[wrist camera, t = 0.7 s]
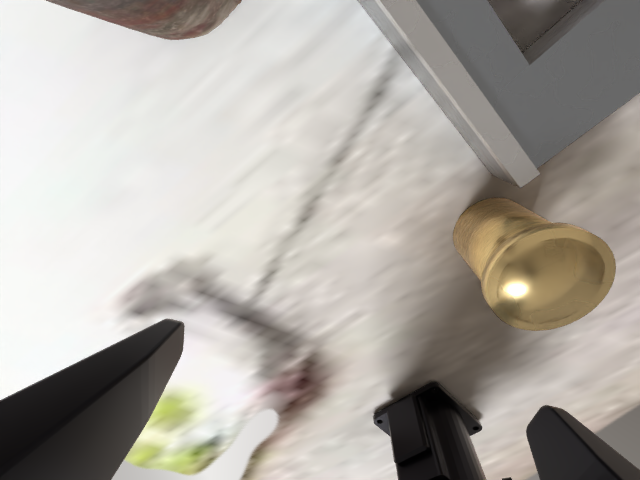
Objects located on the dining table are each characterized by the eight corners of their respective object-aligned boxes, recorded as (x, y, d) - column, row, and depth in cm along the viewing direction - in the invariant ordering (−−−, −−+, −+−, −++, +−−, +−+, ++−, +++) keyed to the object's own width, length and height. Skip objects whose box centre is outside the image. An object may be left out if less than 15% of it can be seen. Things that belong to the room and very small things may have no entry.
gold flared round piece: (551, 234, 19) (637, 287, 13) (477, 283, 21) (525, 348, 15) (505, 172, 18) (578, 203, 12) (429, 229, 19) (464, 279, 14)
